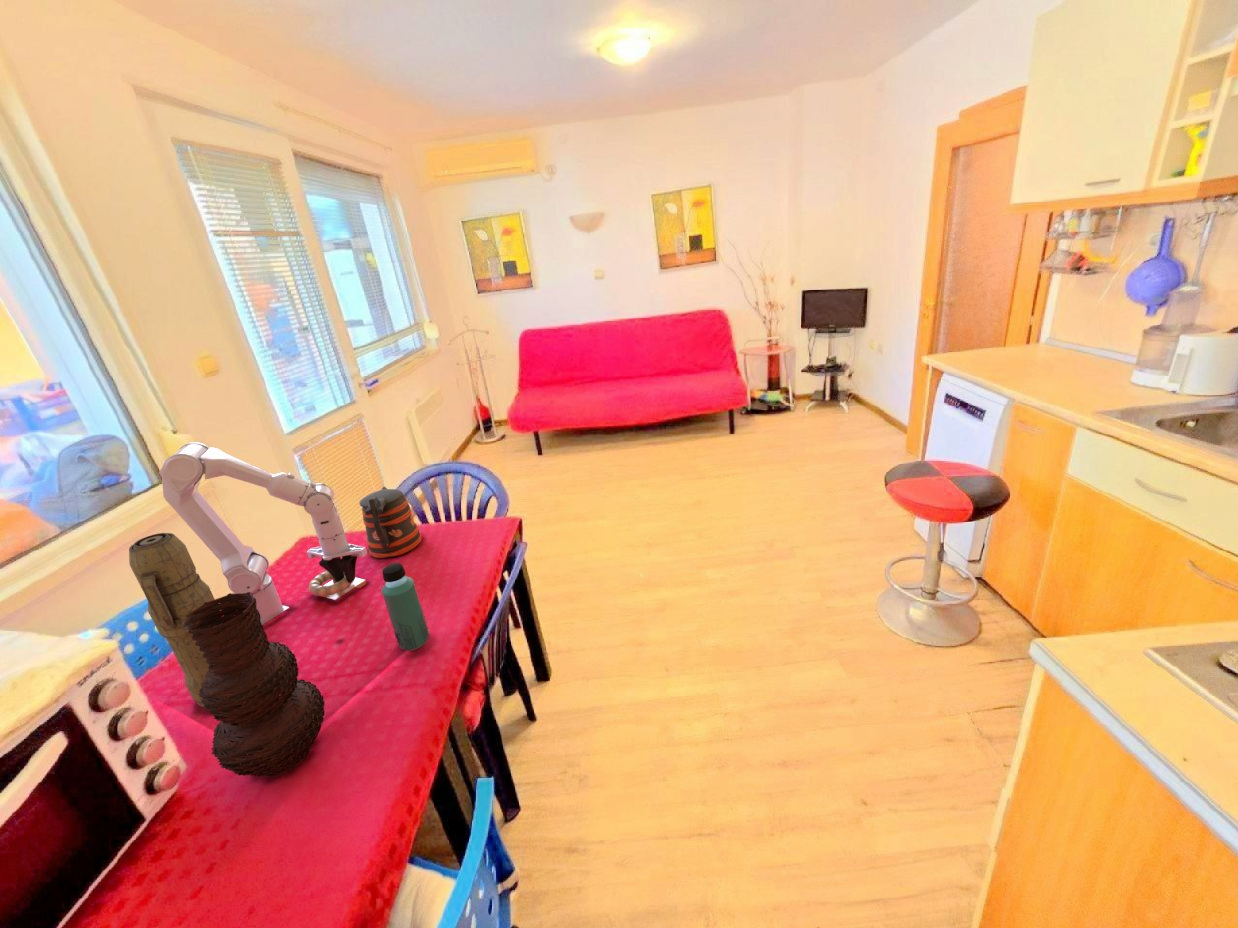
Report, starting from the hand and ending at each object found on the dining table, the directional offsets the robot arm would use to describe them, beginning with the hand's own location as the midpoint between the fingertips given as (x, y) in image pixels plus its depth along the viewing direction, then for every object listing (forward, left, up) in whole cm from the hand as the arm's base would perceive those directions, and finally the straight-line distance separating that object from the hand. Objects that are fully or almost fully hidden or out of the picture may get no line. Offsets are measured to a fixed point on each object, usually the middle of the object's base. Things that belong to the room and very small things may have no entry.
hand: (346, 580), depth 127 cm
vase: (+31, -37, -4) cm, 48 cm away
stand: (-4, 0, -4) cm, 6 cm away
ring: (-4, -1, 0) cm, 4 cm away
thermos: (+5, -33, -4) cm, 33 cm away
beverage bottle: (+32, -9, -4) cm, 33 cm away
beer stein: (-6, +20, -4) cm, 21 cm away
